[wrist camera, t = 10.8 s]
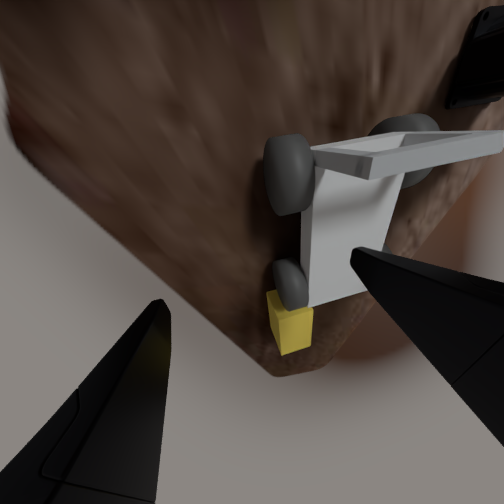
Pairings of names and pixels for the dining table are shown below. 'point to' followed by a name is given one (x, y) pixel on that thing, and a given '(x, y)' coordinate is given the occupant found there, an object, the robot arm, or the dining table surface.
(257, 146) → the dining table surface
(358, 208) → the trolley
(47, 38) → the dining table surface
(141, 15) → the dining table surface
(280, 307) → the block
